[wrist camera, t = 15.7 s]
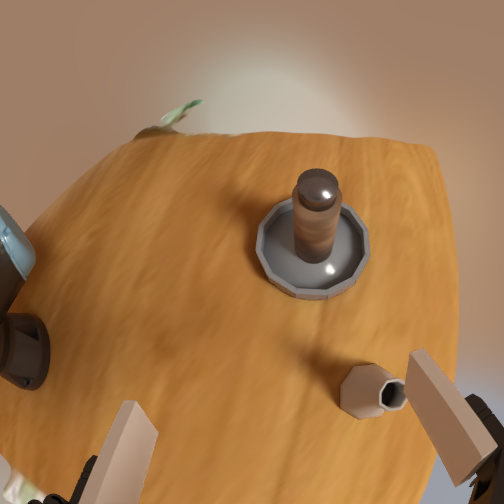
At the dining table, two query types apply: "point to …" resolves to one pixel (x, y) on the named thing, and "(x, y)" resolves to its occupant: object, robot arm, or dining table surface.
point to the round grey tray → (305, 274)
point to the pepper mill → (315, 214)
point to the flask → (371, 392)
